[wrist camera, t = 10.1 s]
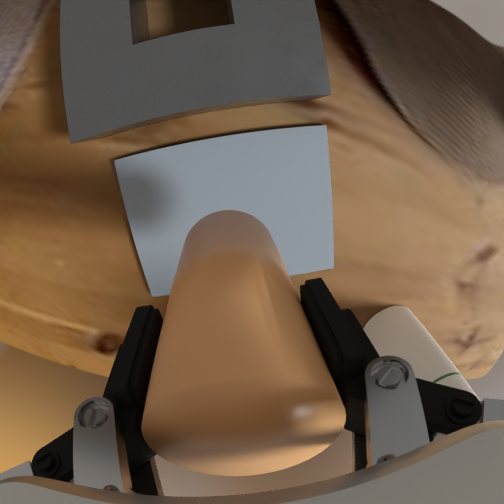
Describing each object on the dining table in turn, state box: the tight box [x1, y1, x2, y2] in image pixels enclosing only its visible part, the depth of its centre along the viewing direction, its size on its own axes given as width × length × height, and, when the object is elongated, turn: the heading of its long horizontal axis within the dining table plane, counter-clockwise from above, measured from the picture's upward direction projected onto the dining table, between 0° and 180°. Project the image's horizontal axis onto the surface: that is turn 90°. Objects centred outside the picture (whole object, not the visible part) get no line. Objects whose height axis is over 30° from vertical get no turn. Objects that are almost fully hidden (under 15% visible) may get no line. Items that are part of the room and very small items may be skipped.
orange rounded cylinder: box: [141, 210, 346, 476], centre depth 11 cm, size 5×5×11 cm
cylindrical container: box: [363, 305, 480, 401], centre depth 18 cm, size 7×7×25 cm
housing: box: [60, 0, 331, 144], centre depth 14 cm, size 16×16×5 cm
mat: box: [114, 125, 334, 297], centre depth 22 cm, size 16×12×1 cm
